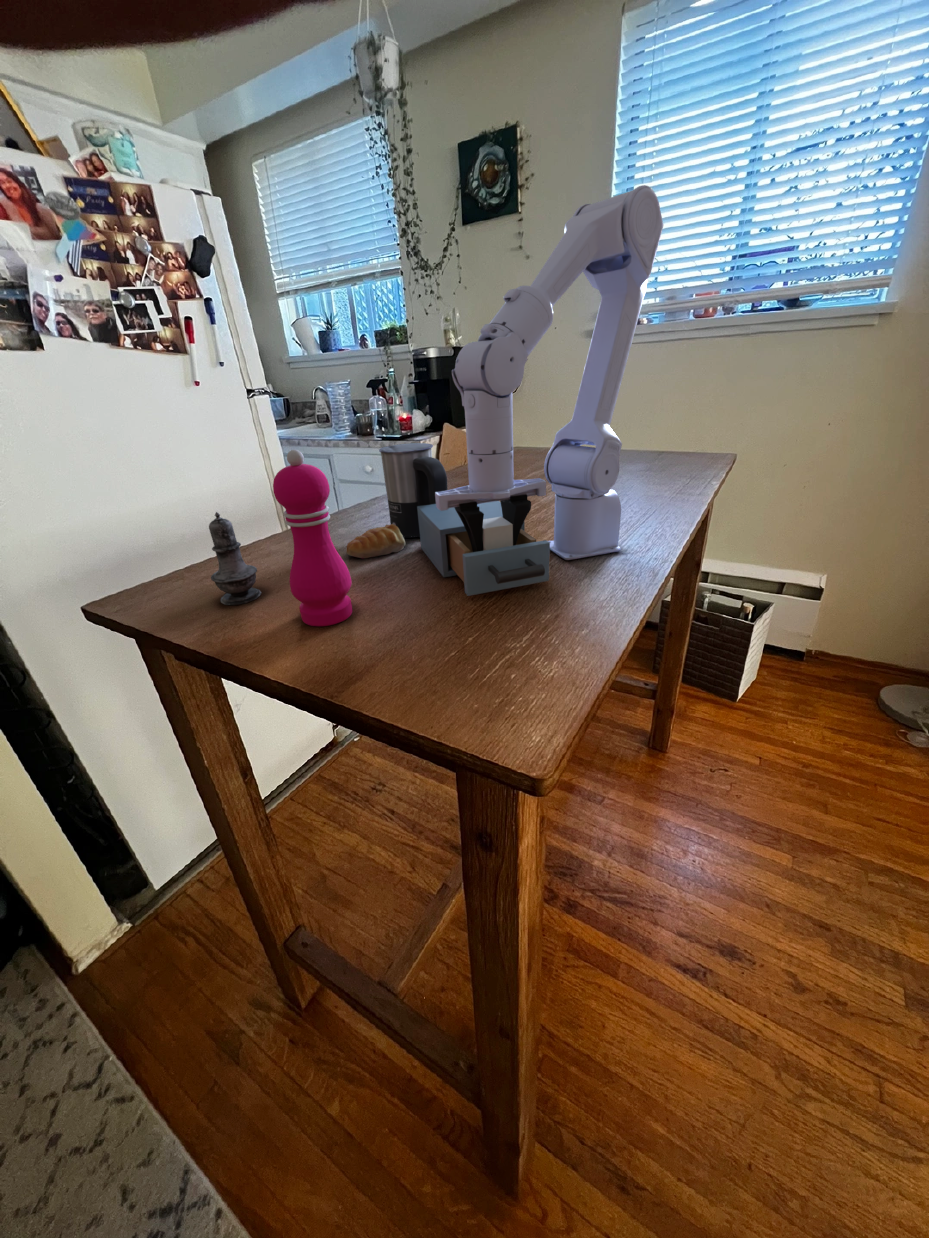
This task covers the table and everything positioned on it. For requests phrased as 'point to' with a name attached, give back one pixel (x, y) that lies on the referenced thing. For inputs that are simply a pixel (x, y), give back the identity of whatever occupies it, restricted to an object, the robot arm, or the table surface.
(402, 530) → the milk frother
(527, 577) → the drawer
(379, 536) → the pastry
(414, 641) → the table surface
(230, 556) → the salt shaker
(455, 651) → the table surface
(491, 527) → the block
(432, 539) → the cabinet
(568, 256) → the robot arm
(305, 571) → the pepper mill
